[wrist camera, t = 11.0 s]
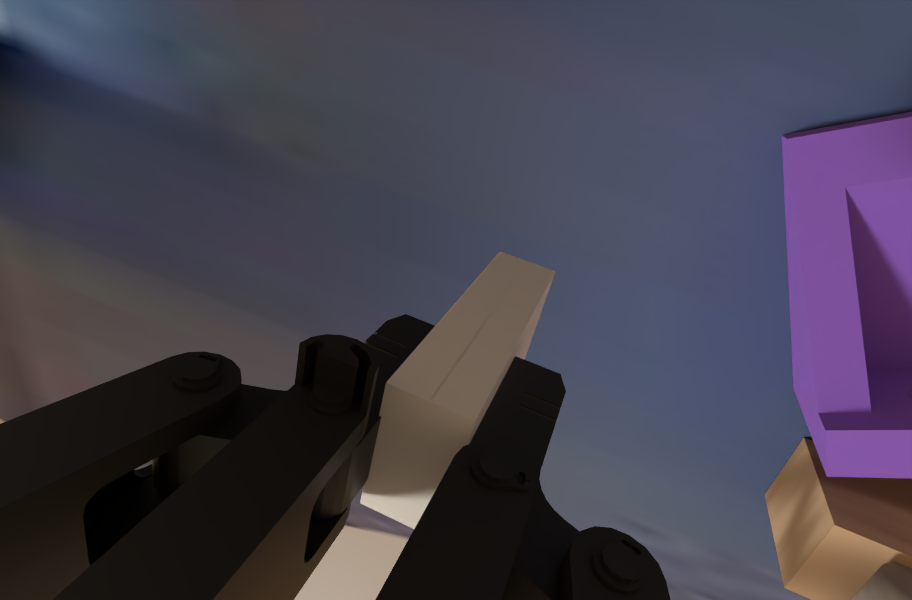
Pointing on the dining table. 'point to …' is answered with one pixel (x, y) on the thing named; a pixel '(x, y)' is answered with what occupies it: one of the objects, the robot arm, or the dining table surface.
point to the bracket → (852, 291)
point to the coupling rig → (841, 531)
